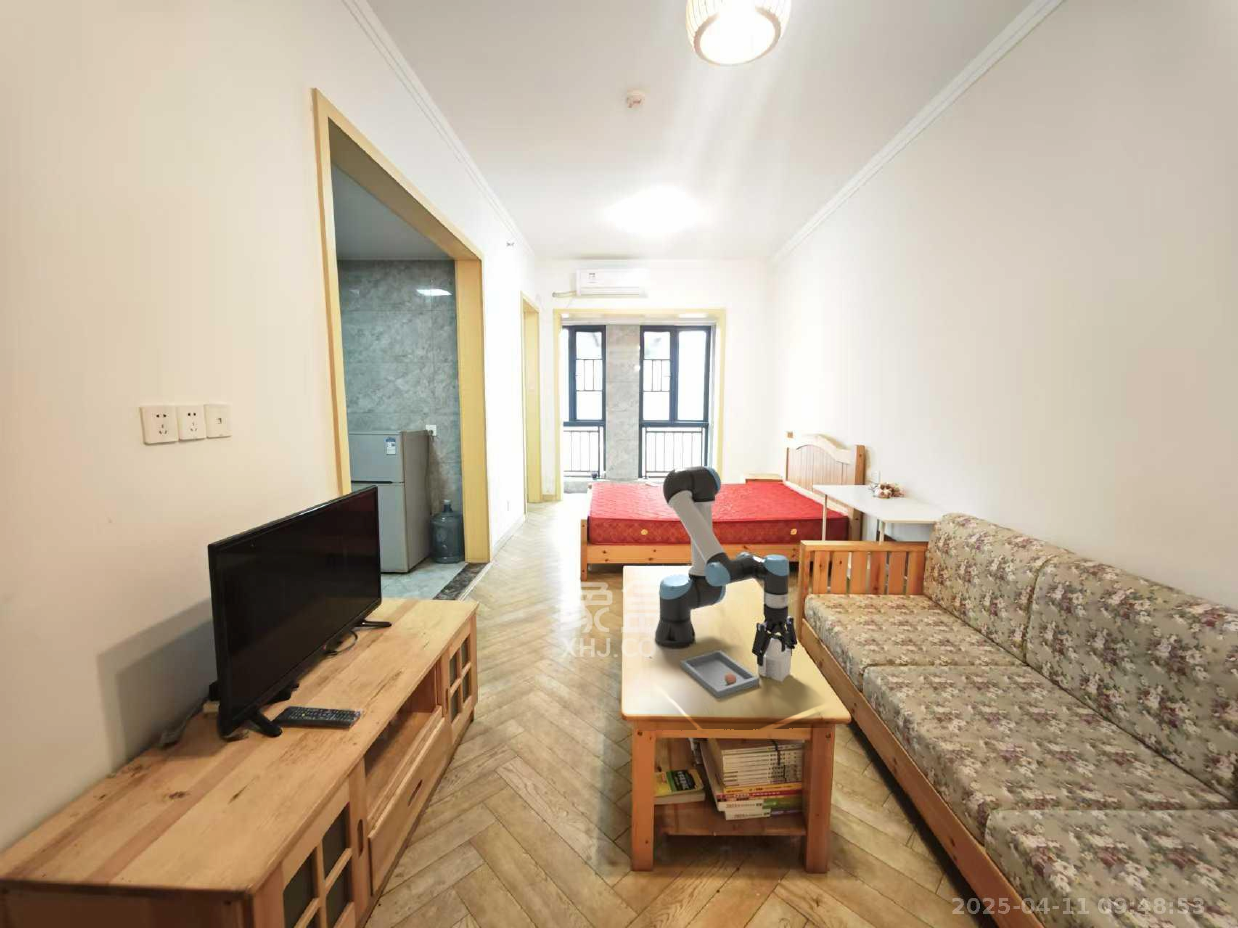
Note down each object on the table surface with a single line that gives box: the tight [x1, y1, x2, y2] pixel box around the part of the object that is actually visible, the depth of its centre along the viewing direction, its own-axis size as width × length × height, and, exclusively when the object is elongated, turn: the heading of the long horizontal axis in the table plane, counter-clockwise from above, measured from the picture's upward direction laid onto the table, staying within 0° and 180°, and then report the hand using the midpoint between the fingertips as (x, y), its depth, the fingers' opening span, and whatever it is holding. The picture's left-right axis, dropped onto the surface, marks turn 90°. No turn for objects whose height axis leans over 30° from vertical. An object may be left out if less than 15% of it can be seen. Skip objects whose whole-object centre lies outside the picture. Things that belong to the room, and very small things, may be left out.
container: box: [764, 633, 792, 682], centre depth 154 cm, size 8×8×13 cm
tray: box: [680, 649, 760, 699], centre depth 153 cm, size 20×16×3 cm
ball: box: [725, 673, 736, 685], centre depth 148 cm, size 4×4×4 cm
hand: (774, 670), depth 154 cm, fingers closed on container, 10 cm apart
